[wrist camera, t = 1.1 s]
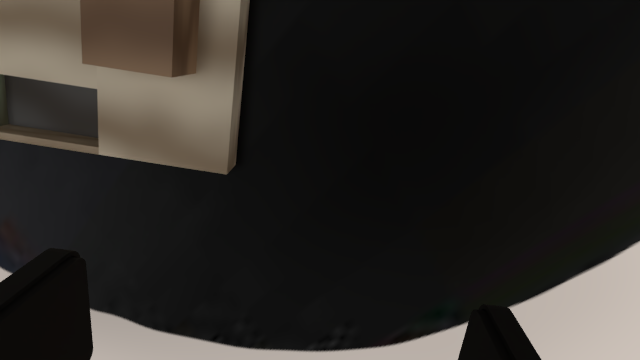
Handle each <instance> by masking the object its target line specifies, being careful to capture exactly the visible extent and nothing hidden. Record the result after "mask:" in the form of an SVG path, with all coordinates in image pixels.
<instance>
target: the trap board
mask: <svg viewBox="0 0 640 360" xmlns="http://www.w3.org/2000/svg"><path fill="white" fill-rule="evenodd" d="M249 3H250V0H200V6H199V26H198V46H197V65H196V74H190V75H184V76H178V77H172V78H171V77H165V76H158V75H152V74H145V73H139V72H132V71H126V70H120V69H113V68H107V67H100V66H94V65H87V64H82V44H81V15H80V0H0V139H2V140H9V141H15V142H22V143H28V144H34V145H41V146H47V147H54V148H60V149H67V150H73V151H79V152H86V153H92V154H99V155H105V156H112V157H118V158H124V159H131V160H137V161H144V162H150V163H157V164H163V165H170V166H176V167H182V168H189V169H195V170H202V171H208V172H215V173H221V174H228V173H229V171H230V170H231V169H232V168H233V167H234V166H235V165H236V154H237V142H238V131H239V119H240V108H241V96H242V84H243V73H244V61H245V49H246V38H247V26H248V15H249Z"/></svg>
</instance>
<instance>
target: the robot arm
mask: <svg viewBox="0 0 640 360" xmlns="http://www.w3.org/2000/svg"><path fill="white" fill-rule="evenodd" d="M92 352H93V342H92V330H91V318H90V306H89V295H88V283H87V271H86V263H85V260H84V259H83V258H80V255H79V254H78V252H76V251H71V250H63V249H55V248H50V249H48V250H46V251H44V252H43V253H41V254H40V255H39V256H37V257H36V258H34V259H33V260H31V261H30V262H29V263H27V264H26V265H24V266H23V267H21V268H20V269H19V270H17V271H16V272H14V273H13V274H12V275H10V276H9V277H7V278H6V279H5V280H3V281H2V282H0V360H90V358H91V356H92ZM458 360H541V358H540V357H539V355H538V354H537V352H536V350H535V349H534V347H533V346H532V344H531V342H530V341H529V339H528V337H527V336H526V334H525V333H524V331H523V329H522V328H521V326H520V325H519V323H518V321H517V320H516V318H515V317H514V315H513V313H512V312H511V310H510V309H509V308H507V307H501V306H493V305H485V304H483V305H481V306H480V308H479V310H473V311H472V313H471V315H470V319H469V322H468V326H467V329H466V333H465V337H464V340H463V344H462V347H461V351H460V354H459V358H458Z"/></svg>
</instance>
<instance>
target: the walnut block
mask: <svg viewBox="0 0 640 360" xmlns="http://www.w3.org/2000/svg"><path fill="white" fill-rule="evenodd" d="M199 6H200V0H80V15H81V44H82V64H87V65H94V66H100V67H107V68H113V69H120V70H126V71H132V72H139V73H145V74H152V75H158V76H165V77H171V78H172V77H178V76H184V75H190V74H196V65H197V46H198V26H199Z"/></svg>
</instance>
